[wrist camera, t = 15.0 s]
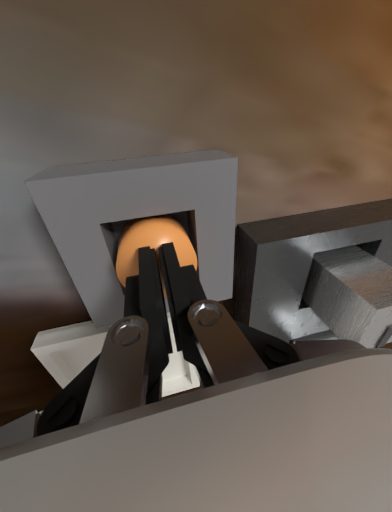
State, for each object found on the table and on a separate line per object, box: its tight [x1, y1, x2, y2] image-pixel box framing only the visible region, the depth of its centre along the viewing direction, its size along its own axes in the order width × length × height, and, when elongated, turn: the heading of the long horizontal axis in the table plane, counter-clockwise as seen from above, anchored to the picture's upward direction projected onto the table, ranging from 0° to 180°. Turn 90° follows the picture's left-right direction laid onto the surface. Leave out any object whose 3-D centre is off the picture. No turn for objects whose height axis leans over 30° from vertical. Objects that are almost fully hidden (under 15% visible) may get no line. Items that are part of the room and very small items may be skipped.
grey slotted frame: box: [234, 199, 392, 343], centre depth 20 cm, size 18×14×3 cm
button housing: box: [24, 149, 238, 329], centre depth 13 cm, size 9×9×3 cm
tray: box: [30, 312, 200, 397], centre depth 20 cm, size 12×12×2 cm
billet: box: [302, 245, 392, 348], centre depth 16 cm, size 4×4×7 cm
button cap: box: [116, 214, 197, 297], centre depth 12 cm, size 4×4×2 cm
